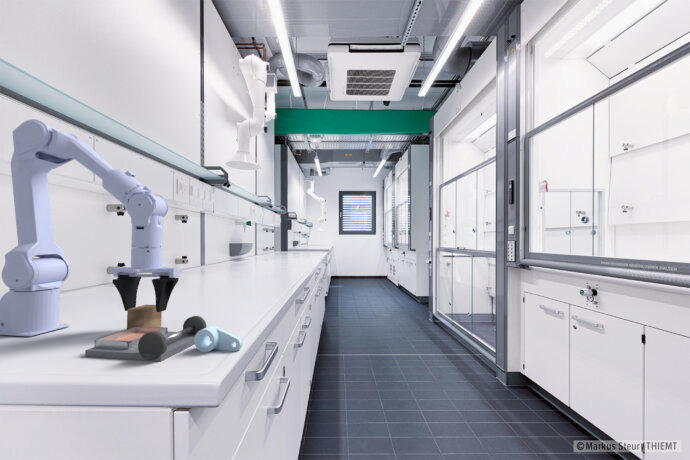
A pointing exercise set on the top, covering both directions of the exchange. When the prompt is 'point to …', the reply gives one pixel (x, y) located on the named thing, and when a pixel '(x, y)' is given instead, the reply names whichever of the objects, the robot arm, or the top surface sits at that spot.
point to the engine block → (143, 316)
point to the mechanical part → (216, 340)
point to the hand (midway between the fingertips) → (145, 310)
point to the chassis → (147, 342)
